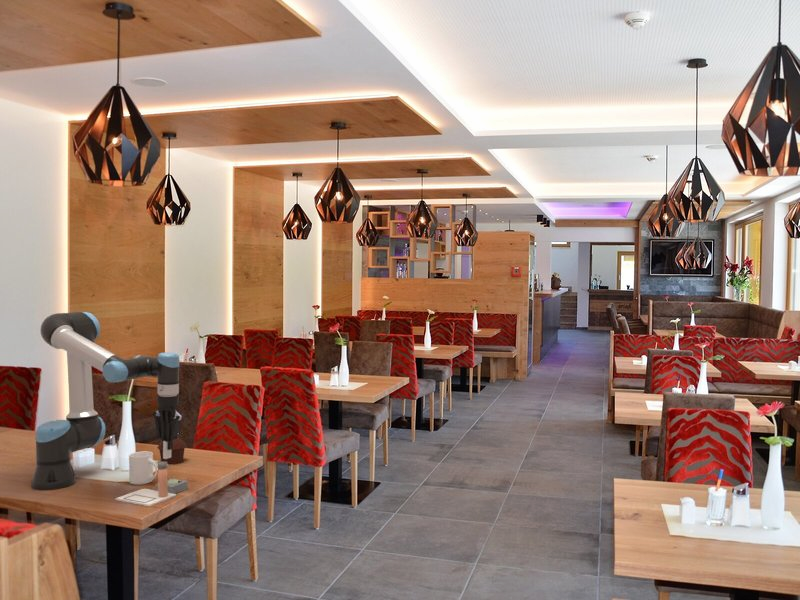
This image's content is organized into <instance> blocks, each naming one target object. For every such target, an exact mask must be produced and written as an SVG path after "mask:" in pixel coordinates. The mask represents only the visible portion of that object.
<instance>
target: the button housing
mask: <svg viewBox="0 0 800 600" xmlns="http://www.w3.org/2000/svg"><path fill="white" fill-rule="evenodd" d="M170 479H173V478H170ZM188 489H189V481H188V480H183V479H178V483H177V484H174V485H168V493H172V494H176V495H177V494H179V493H181V492H184V491H186V490H188ZM155 491H158V482H157V483H155Z"/></svg>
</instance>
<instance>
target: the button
mask: <svg viewBox="0 0 800 600" xmlns="http://www.w3.org/2000/svg"><path fill="white" fill-rule="evenodd" d="M178 480H179V478H172V479H171V478H170V479H168V485H174V484H177V483H178Z"/></svg>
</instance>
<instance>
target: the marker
mask: <svg viewBox="0 0 800 600" xmlns="http://www.w3.org/2000/svg"><path fill="white" fill-rule="evenodd" d="M157 483H158V497H167V496H168V465H167V462H161V461H158V462H157Z"/></svg>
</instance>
